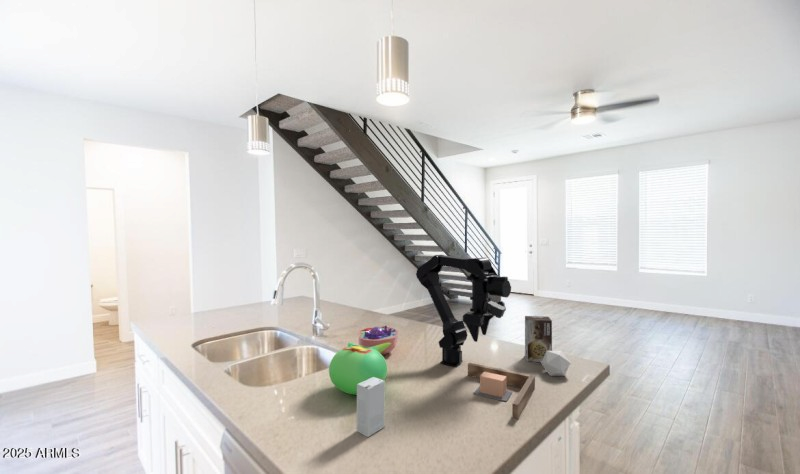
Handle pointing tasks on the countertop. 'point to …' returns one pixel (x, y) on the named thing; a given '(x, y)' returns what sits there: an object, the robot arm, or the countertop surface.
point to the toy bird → (357, 366)
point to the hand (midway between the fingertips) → (480, 338)
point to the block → (493, 384)
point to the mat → (505, 398)
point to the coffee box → (537, 337)
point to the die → (555, 363)
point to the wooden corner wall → (512, 379)
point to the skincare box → (370, 406)
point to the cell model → (378, 337)
